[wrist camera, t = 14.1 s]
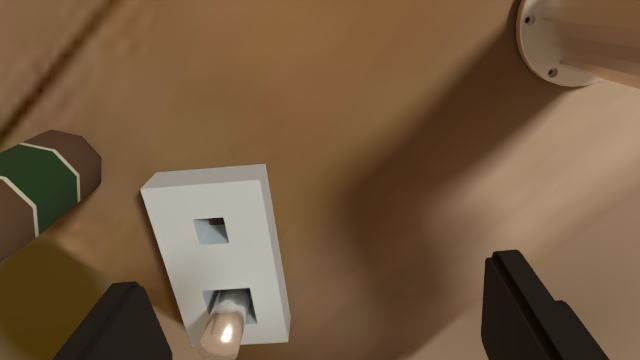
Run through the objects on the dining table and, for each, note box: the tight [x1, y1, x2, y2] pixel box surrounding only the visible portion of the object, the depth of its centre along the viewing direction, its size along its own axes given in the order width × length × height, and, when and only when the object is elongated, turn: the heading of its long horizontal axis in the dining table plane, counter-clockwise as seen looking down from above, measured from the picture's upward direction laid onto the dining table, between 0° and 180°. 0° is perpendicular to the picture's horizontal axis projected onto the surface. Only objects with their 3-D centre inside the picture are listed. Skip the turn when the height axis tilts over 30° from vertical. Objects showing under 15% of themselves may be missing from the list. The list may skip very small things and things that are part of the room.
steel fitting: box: [199, 288, 252, 360], centre depth 43 cm, size 4×4×10 cm
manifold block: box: [140, 164, 291, 348], centre depth 44 cm, size 12×22×4 cm, turn 5°
